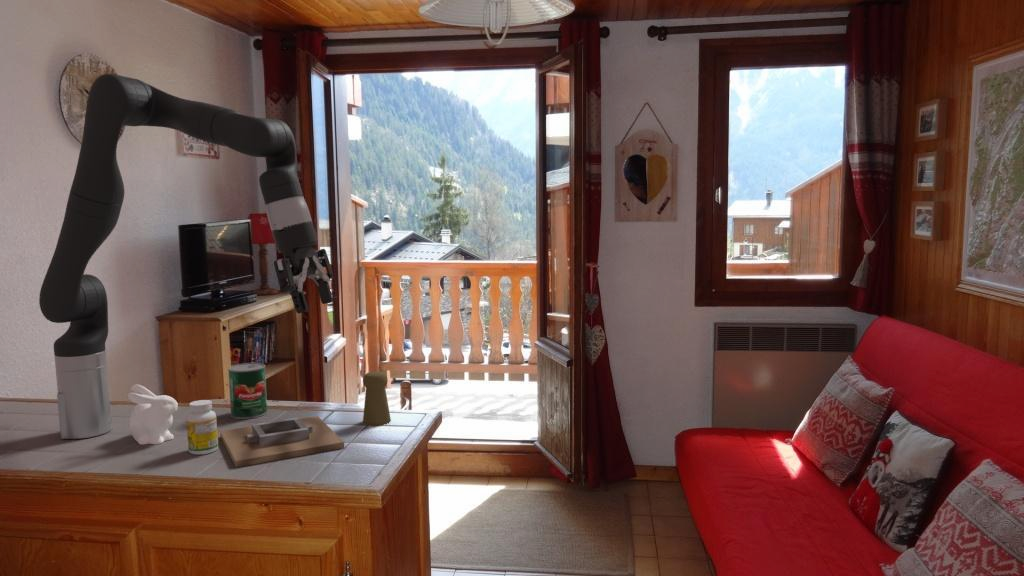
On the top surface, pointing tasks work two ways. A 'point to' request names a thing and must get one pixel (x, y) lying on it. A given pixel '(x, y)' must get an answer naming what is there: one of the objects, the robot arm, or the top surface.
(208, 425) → the supplement bottle
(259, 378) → the canned tomato
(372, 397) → the cork
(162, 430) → the rabbit
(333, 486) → the top surface
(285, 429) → the holder
